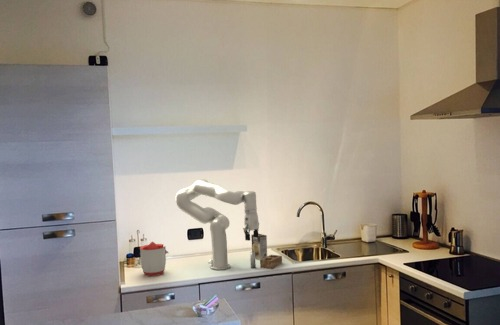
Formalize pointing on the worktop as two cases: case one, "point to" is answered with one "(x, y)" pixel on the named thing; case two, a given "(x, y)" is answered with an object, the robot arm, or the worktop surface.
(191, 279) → the worktop surface
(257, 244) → the coffee box
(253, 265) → the pin
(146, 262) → the citrus juicer
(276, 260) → the hole block
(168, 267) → the worktop surface
